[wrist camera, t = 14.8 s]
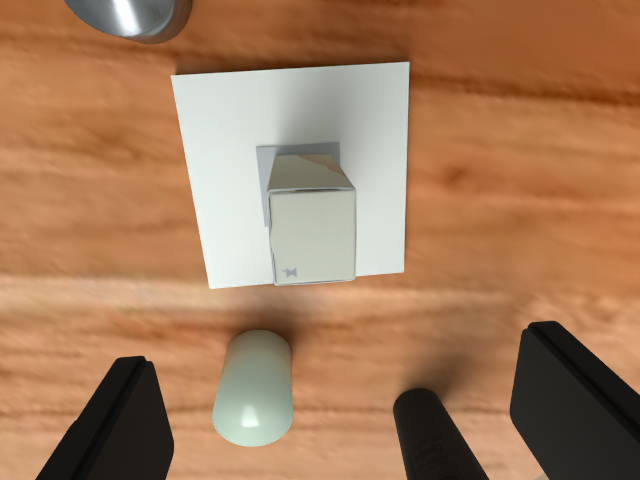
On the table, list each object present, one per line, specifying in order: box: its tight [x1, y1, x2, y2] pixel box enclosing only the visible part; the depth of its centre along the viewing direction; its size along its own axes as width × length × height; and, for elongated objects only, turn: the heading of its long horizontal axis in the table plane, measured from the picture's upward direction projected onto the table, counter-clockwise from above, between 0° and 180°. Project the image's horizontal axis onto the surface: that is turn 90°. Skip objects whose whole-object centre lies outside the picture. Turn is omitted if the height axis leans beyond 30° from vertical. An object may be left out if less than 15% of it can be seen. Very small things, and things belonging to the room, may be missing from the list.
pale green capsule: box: [212, 329, 293, 447], centre depth 33 cm, size 6×6×7 cm
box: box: [266, 154, 357, 286], centre depth 24 cm, size 5×4×11 cm
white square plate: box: [171, 62, 409, 289], centre depth 30 cm, size 16×16×1 cm
